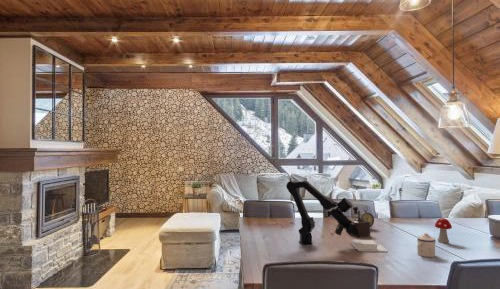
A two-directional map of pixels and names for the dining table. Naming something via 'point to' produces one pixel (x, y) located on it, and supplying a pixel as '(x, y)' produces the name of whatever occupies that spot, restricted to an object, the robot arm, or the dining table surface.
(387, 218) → the dining table surface
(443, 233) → the decorative mushroom
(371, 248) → the beige rectangular block
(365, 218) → the alarm clock
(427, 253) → the teacup with lid
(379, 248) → the mat
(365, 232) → the dark brown boxy piece
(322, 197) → the robot arm
